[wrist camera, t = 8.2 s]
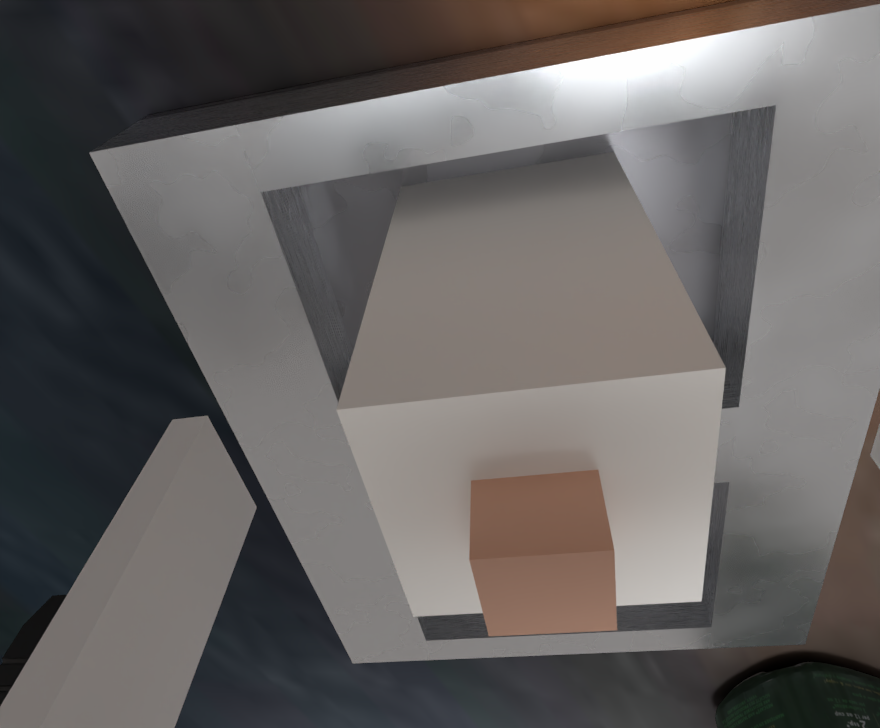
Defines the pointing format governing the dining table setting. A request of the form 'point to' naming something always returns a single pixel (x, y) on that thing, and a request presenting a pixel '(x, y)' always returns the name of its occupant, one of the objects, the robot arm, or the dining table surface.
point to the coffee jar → (803, 699)
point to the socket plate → (524, 144)
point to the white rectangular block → (535, 402)
